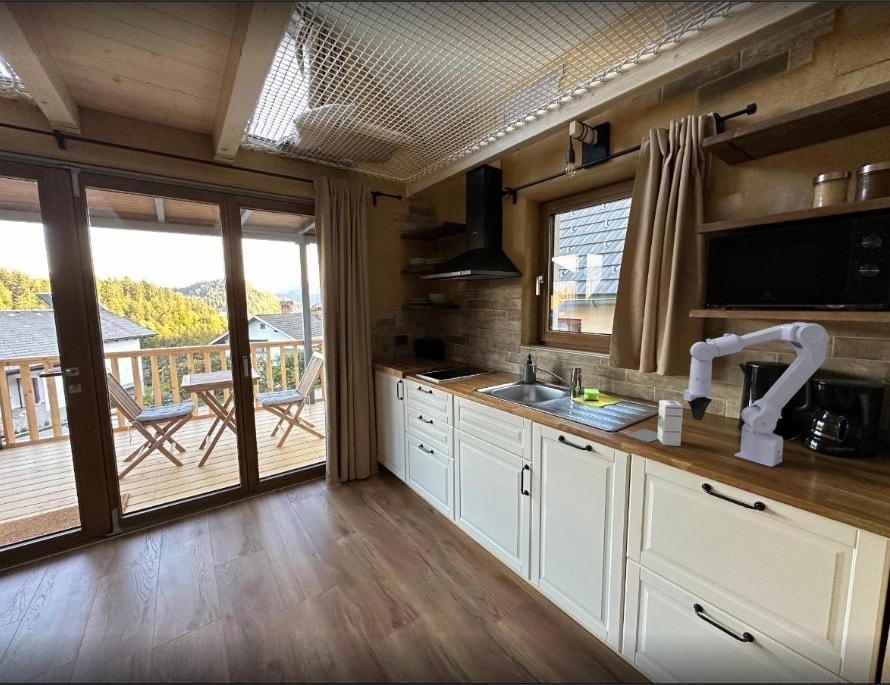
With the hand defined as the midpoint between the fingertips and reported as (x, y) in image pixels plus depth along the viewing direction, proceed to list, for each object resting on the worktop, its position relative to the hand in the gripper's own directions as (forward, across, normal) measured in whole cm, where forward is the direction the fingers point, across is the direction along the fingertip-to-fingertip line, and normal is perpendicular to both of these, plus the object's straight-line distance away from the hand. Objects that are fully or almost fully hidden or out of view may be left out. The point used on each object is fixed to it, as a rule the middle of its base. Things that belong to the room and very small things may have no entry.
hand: (697, 419), depth 119 cm
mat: (+10, +2, -16) cm, 19 cm away
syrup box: (+10, +1, -8) cm, 13 cm away
